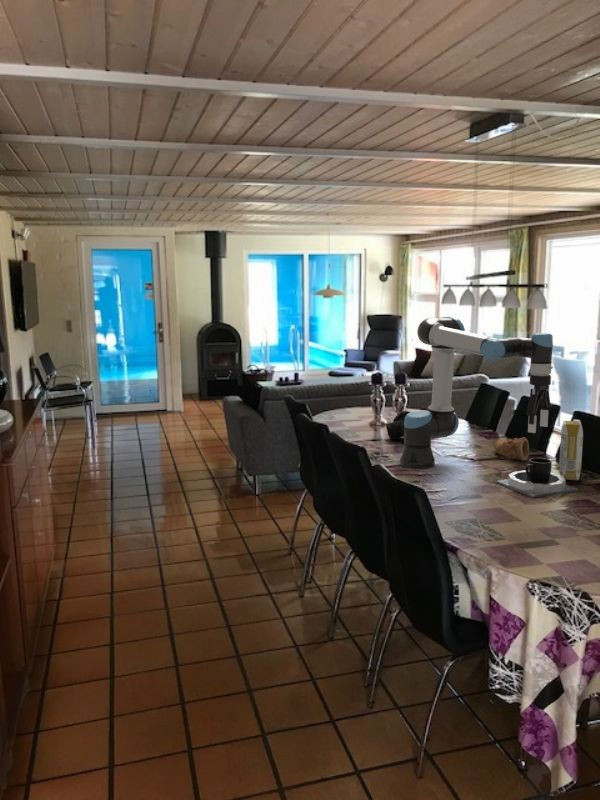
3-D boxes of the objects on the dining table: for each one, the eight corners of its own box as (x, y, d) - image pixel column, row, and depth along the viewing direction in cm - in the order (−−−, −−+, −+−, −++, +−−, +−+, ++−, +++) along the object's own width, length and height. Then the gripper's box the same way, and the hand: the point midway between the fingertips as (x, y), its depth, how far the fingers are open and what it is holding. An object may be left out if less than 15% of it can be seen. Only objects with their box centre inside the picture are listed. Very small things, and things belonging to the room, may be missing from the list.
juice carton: (580, 481, 251) (584, 422, 247) (559, 479, 254) (562, 421, 250) (579, 475, 260) (582, 418, 256) (558, 473, 262) (561, 417, 258)
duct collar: (532, 497, 232) (533, 487, 231) (496, 482, 251) (496, 473, 250) (577, 491, 239) (578, 481, 238) (539, 476, 258) (539, 467, 258)
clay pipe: (500, 470, 283) (534, 461, 279) (493, 447, 282) (528, 439, 278) (498, 458, 301) (530, 450, 297) (491, 437, 300) (523, 429, 295)
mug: (516, 484, 245) (517, 460, 244) (537, 479, 251) (538, 456, 250) (533, 490, 238) (534, 465, 237) (555, 485, 244) (556, 461, 243)
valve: (393, 429, 306) (381, 415, 335) (401, 456, 309) (388, 441, 338) (436, 416, 306) (421, 404, 335) (443, 444, 309) (427, 429, 338)
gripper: (539, 378, 226) (536, 436, 230) (560, 371, 246) (558, 425, 249) (518, 377, 231) (516, 433, 235) (541, 370, 250) (538, 423, 254)
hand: (537, 429), depth 242 cm, fingers open, 13 cm apart
